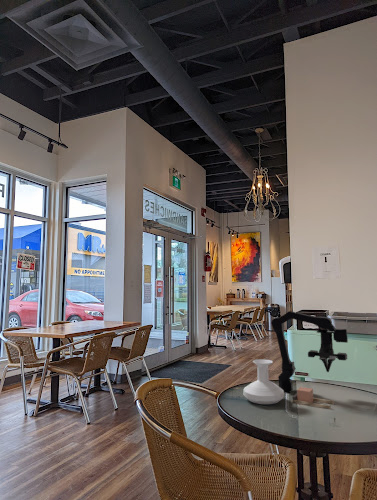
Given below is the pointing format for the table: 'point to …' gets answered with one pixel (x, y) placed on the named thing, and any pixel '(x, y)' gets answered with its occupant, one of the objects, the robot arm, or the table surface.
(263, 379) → the white vase
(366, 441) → the table surface
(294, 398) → the chute
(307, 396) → the block
